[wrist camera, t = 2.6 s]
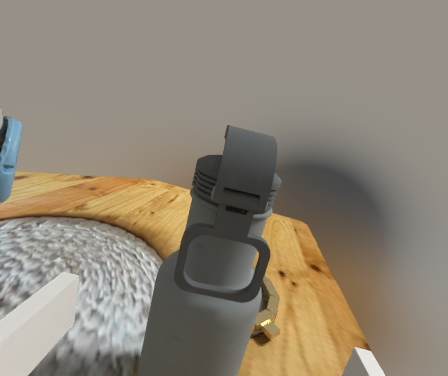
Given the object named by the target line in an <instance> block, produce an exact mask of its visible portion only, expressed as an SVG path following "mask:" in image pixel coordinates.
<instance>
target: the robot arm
mask: <svg viewBox="0 0 448 376" xmlns="http://www.w3.org/2000/svg"><path fill="white" fill-rule="evenodd" d="M21 134H22V124H21V123H20V122H19V121H17V120H14V119H12V118H10V117H7V116H5V117H3V114H2V110H1V107H0V203H2V202H4V201H6V200H7V199H8V198H9V196H10V194H11V190H12V185H13V180H14V175H15V169H16V163H17V158H18V152H19V145H20V140H21ZM78 281H79V275H75V274H71V273H67V272H62V273H61V274H60V275H58V276H57V277H56V278H54V279H53V280H52V281H51V282H49V283H48V284H47V285H45V286H44V287H43V288H41V289H40V290H39V291H38V292H36V293H35V294H34V295H32V296H31V297H30V298H28V299H27V300H26V301H25V302H23V303H22V304H21V305H19V306H18V307H17V308H15V309H14V310H13V311H11V312H10V313H9V314H8V315H6V316H5V317H4V318H2V319H1V320H0V376H28V375H29V374H30V373H31V372H32V370H33V369H34V368H35V367H36V366H37V365H38V364H39V363H40V361H41V360H42V359H43V358H44V357H45V356H46V355H47V354H48V352H49V351H50V350H51V349H52V348H53V347H54V346H55V345H56V343H57V342H58V341H59V340H60V339H61V338H62V337H63V336H64V334H65V333H66V332H67V331H68V330H69V329H70V328H71V327H72V325H73V324H74V319H75V310H76V300H77V291H78ZM342 376H385V374H384V373H383V371H382V369H381V368H380V366H379V364H378V362H377V361H376V359H375V357H374V356H373V354H372V352H371V351H368V350H364V349H360V348H356V347H354V349H353V351H352V354H351V356H350V358H349V360H348V363H347V365H346V367H345V370H344V372H343V374H342Z"/></svg>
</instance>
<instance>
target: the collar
mask: <svg viewBox="0 0 448 376" xmlns="http://www.w3.org/2000/svg"><path fill="white" fill-rule="evenodd" d="M252 269H253V270H254V271H255V268H254V267H252ZM261 291H262V298H261V303H260V307H259V311H258V314H257V317H256V320H255V323H254V326H253V329H252V332H251V335H250V338H253V337H257V336H259V335H261V334H263V333H264V334H265V335H266V336H267V337H268V338H269V339H270V340H271V339H273V338H274V337H276V336H277V335H279V333H280V329H279V328H278V327H277V326H276V325H275V324H274V320H275V318H276V315H277V309H278V304H279V299H280V298H279V295H278V293H277V292H276V290H275V288H274V286H273V284H272V283H271V281H270V280H269V279H268V278H267V277H266V276H264V278H263V281H262V284H261Z"/></svg>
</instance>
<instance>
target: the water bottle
mask: <svg viewBox="0 0 448 376" xmlns="http://www.w3.org/2000/svg"><path fill="white" fill-rule="evenodd" d="M225 139H226V142H225V147H224V151H223V155H207V156H205V157H201V158H199V159H198V160H197V164H196V169H195V170H196V172H195V173H194V175H195V176H194V178H193V179H194V181H193V183H192V185H193V188H192V189H191V191H190V195H191V197H192V202H191V206H190V211H189V215H188V220H187V225H186V229H185V232H184V234H183V237H182V240H181V245H180V249H179V250H178V251H176V252H174V253H172V254H171V255H170V256H169V257H168V258H166V259H165V260H164V262H163V263H162V265H161V266H160V268H159V271H158V274H157V278H156V281H155V286H154V292H153V297H152V302H151V307H150V312H149V317H148V322H147V327H146V332H145V337H144V342H143V348H142V353H141V358H140V363H139V368H138V373H137V376H237V375H238V372H239V369H240V366H241V363H242V360H243V357H244V354H245V351H246V348H247V344H248V341H249V338H250V335H251V332H252V329H253V326H254V323H255V320H256V317H257V314H258V311H259V307H260V303H261V298H262V291H261V284H262V281H263V278H264V275H265V272H266V269H267V265H268V262H269V259H270V249H269V246H268V244H267V242H266V241H265V240H264V239H263V238H262V237H261V236H262V233H263V230H264V227H265V223H266V220H267V217H269V216H271V214H272V208H271V207H272V205H273V203H274V199H275V195H276V193H277V190H278V189H279V188H280V185H281V179H280V178H279V177H278V176H277V175H276V173H275V166H276V156H277V155H276V154H277V143H276V140H275V138H274V137H273V136H269V135H265V134H261V133H257V132H253V131H249V130H245V129H241V128H237V127H233V126H229V125H228V126H227V129H226V133H225ZM257 251H258V252H259V258H258V262H257V265H256V268H255V271H254V270H253V269H252V266H253V263H254V259H255V256H256V253H257Z"/></svg>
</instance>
